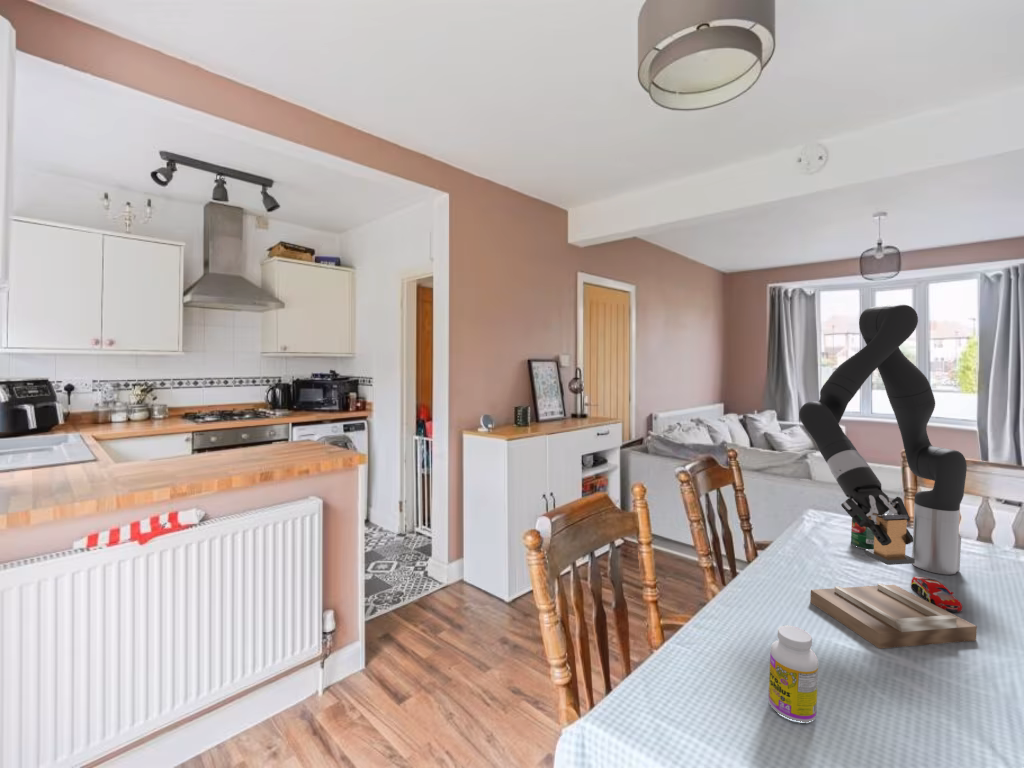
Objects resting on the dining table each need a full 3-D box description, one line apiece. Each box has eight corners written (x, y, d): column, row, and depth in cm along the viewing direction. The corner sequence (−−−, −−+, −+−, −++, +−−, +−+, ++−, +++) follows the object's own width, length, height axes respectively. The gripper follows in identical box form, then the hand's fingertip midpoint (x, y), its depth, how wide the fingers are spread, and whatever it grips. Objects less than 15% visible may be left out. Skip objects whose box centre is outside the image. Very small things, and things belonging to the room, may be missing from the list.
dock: (893, 596, 113) (894, 576, 113) (976, 640, 96) (977, 616, 95) (810, 602, 111) (811, 581, 110) (879, 648, 93) (880, 623, 93)
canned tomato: (844, 542, 148) (845, 507, 147) (864, 540, 150) (865, 506, 149) (868, 552, 140) (870, 515, 140) (889, 550, 142) (891, 514, 141)
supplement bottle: (759, 696, 79) (761, 622, 79) (796, 694, 80) (799, 620, 79) (786, 727, 73) (788, 646, 72) (826, 725, 73) (829, 644, 73)
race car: (966, 616, 105) (967, 599, 105) (937, 612, 107) (938, 595, 107) (933, 589, 118) (934, 573, 118) (907, 586, 120) (908, 570, 119)
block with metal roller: (890, 552, 106) (892, 508, 105) (914, 563, 100) (916, 517, 100) (864, 554, 105) (866, 509, 104) (887, 564, 99) (889, 518, 99)
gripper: (835, 466, 108) (880, 537, 97) (890, 464, 110) (941, 534, 99) (816, 483, 114) (857, 552, 102) (869, 481, 116) (915, 549, 104)
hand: (898, 543), depth 101 cm, fingers closed on block with metal roller, 4 cm apart
